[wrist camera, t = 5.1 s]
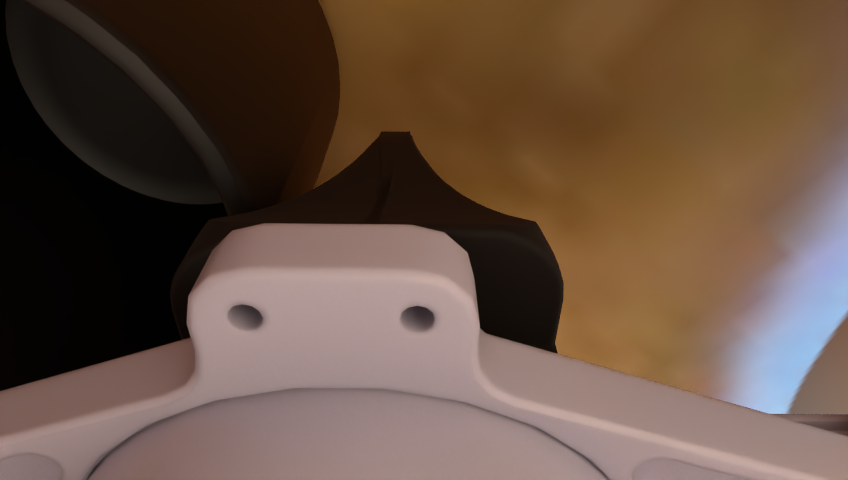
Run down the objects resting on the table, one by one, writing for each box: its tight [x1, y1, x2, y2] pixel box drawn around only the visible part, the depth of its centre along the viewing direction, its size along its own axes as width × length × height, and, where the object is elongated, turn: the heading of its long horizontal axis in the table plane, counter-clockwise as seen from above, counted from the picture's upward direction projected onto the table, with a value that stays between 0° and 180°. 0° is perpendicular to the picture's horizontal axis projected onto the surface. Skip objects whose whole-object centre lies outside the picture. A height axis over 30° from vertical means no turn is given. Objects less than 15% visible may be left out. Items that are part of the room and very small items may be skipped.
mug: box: [0, 0, 340, 391], centre depth 13 cm, size 9×12×9 cm
